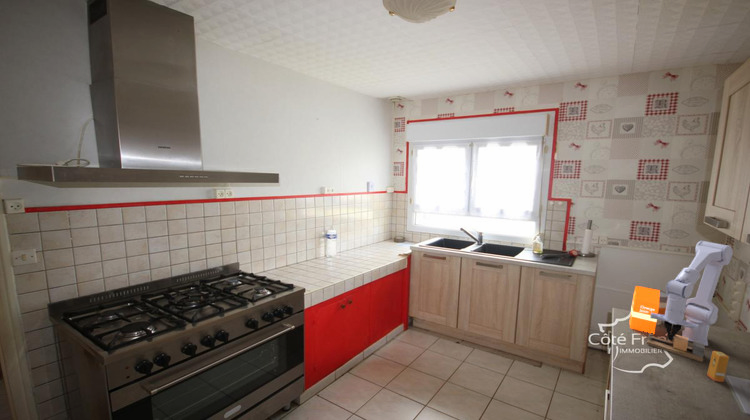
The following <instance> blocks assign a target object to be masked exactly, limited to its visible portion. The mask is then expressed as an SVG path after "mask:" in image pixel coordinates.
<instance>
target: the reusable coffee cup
mask: <svg viewBox="0 0 750 420" xmlns="http://www.w3.org/2000/svg"><path fill="white" fill-rule="evenodd" d="M645 287H646V288H651V289H656V290H660V297H659V309H658V314H661V315H665V311H666V305H667V300H668V297H667V291H664V290H661V289H658V288H654V287H647V286H645ZM662 323H663V321H661V320H657V322H656V326H660V325H662Z"/></svg>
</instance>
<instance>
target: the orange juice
mask: <svg viewBox="0 0 750 420" xmlns="http://www.w3.org/2000/svg"><path fill="white" fill-rule="evenodd" d="M646 287H647V286H639V285H636V286H635V288H634V292H633V297H632V302H631V307H630V316H629V322H628V323H629V329H631V330H636V331H640V332H643V331H644V333H647V332H648V334H651V333H653V334H652V335H655V333H656V327H657V325H656V322H657V319H652V318H650V316H651V313H655V314H658V309H659V297H660V290H661V289H659V290H656V289H657V288H655V289H651V288H652V287H649V288H646Z"/></svg>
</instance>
